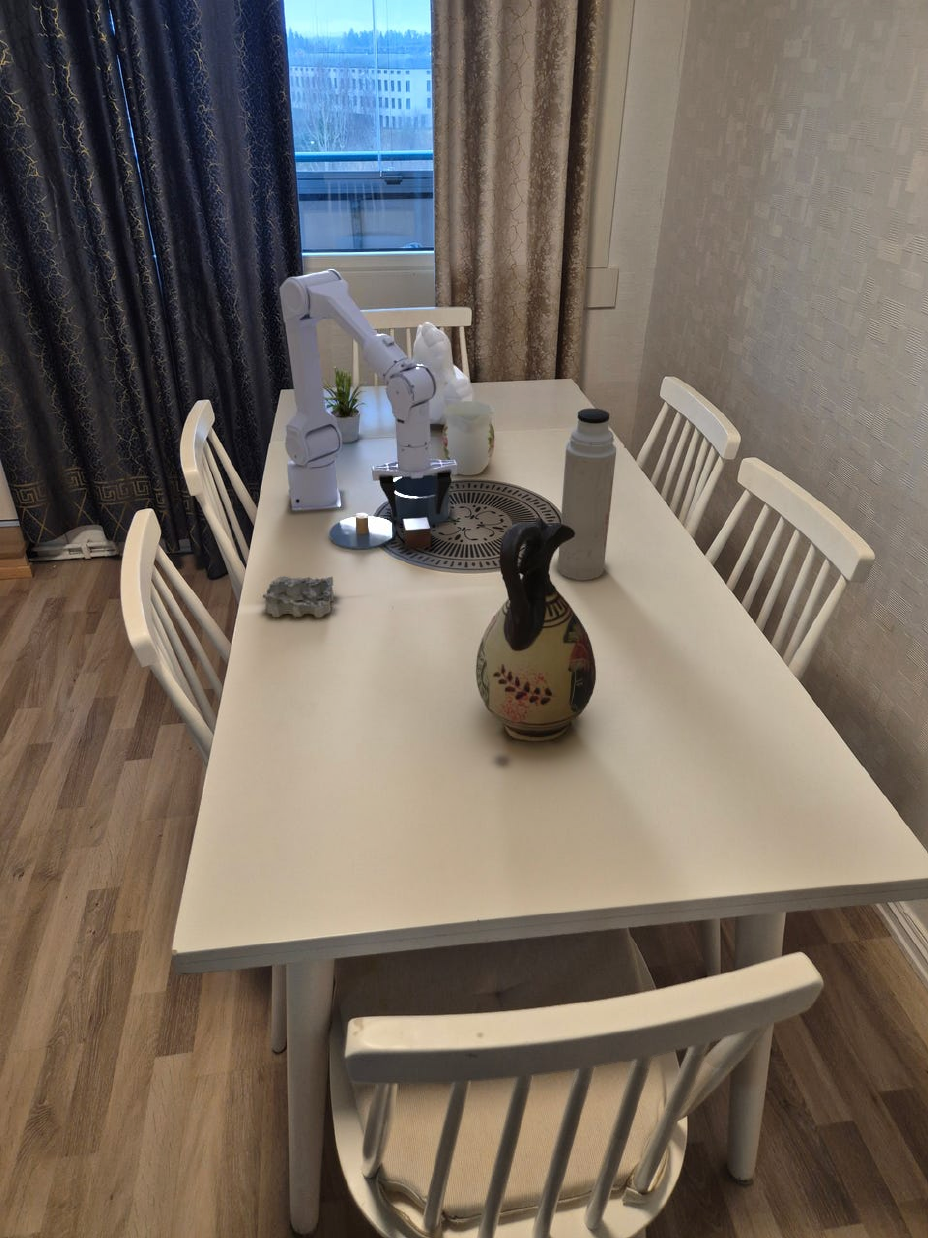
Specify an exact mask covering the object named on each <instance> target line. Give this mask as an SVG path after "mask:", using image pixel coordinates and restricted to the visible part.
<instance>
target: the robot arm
mask: <svg viewBox="0 0 928 1238" xmlns="http://www.w3.org/2000/svg"><path fill="white" fill-rule="evenodd" d="M279 295H280V302H281V303H280V304H281V311H282V318H283V323H284V326H285V332H286V333H285V334H286V339H287V348H288V355H289V362H290V369H291V377H292V385H293V393H294V402H295V407H296V408H295V409H296V412H295V413H294V414H293V416H292V417H291V418H290V419H289V420H288V422H287V423H286V425H285V429H286V437H285V443H284V444H285V451H286V453H287V456H288V457H289V459H290V461H287V463H286V467H287V468H286V469H287V478H288V480H287V481H288V487H289V488H288V497H289V499H290V504H291V510H292V511H302V510H303V511H305V510H316V509H319V510H320V509H331V508H332V509H333V508H340V507H342V501H341V492H340V490H339V489H338V482H337V481H338V480H337V470H336V459H337V458H338V452H339V451H340V450H341V449H342V447H343V442H342V436H341V433H340V431H339V428H338V425H337V418H336V417H335V416H334V415H332V414H331V413H330V411H327V409H326V403H325V402H326V400H324V397H325V392H324V388H323V387H324V386H323V385H324V383H323V382H324V381H323V380H322V378H323V375H322V366H321V357H320V349H319V348H320V347H319V339H318V333H317V332H318V330H317V326H318V324H319V323H320V322H321V321H322V320H323V319H331V320H333V321H334V322H335V323H336V324H337V325H338V326H339V327H340V328H341V329H342V330H343V331H344V332H345V333H347V335H348V336H349V337H350V338H352V339H353V340H354V342H356V344H358V346H360V347H361V348H362V351H361V352H362V353H361V355H362V360H363V361H364V362H365V363H366V365H367V366H368V367H369V368H370V369H371V370H372V372H373V373H374V374H375V375H376V376H377V377H378V378H379V379H380V380H381V382H382V383H383V385H385V386H386V387H385V394H386V397H387V399H388V401H389V404H390V407H391V413H392V414H393V417H394V419H395V436H396V440H395V441H396V459H397V461H392V462H388V463H384V464H378V465H372V466H371V477H372V481H374V482H375V481H379V485H380V488H381V490H382V492H383V494H384V496H385V497H386V499H387V501H388V504H389V507H390V506H391V509H392V514H393V518H397V509H396V502H395V484H394V479H395V478H397V477H411V478H422V477H423V476H424V475H434V478H435V511H436V514H440V512H441V506H442V503H443V499H444V497H445V494H446V492H447V490H448V488H449V487H451V485H452V480H453V479H452V476H457V475H458V473H457V464H456V461H455V460H447V459H433V458H432V451H431V450H432V449H431V448H432V447H431V424H430V410H429V400H430V399H432V398H433V397H434V396H435V393H436V381H435V378H434V376H433V374H432V372H431V371H430V369H429V368H428V367H427V366H425V365H419V364H417V363H416V362H412V359H410V358H409V357H408V355H407V354H406V353H405V352H404V351H403V350H402V349H401V348H400V346H399V345H398V344H397V343H396V342H395V341H396V340H395V339H394V338H393V337H392V336H390V335H389V334H386V333H380V334H379V333H378V332H377V331H376V329H375V327H373V326H372V324H371V323H370V321H369V320H368V319H367V317H365V315H364V314H363V312H362V311H361V310H360V308H359V307H358V306H357V304H356V303H355V302H354V299H352V298H351V291H350V285H349V283H348V282H347V281H346V279H344V278H343V276H342V274H341V273H340V272H339V271H337V270H336V269H334V268H329V269H325V270H323V271H318V272H313V273H309V274H303V275H299V276H290V277H287V278H286V279H285V280H284V282H282V284H281V285H280V287H279ZM393 518H392V519H393Z"/></svg>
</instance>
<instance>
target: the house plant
mask: <svg viewBox="0 0 928 1238" xmlns="http://www.w3.org/2000/svg"><path fill="white" fill-rule="evenodd" d="M333 369H334V373H335V381H334V382H335V386H336V391H335V390H334V389H333V388H332V387H331V386H330V384H329V383H328V382H327V380H325V379H324V378H323V377H322V381H323V382H324V383H325V384H326V385H324V384H323V390H326V391H327V392H328V393H329V394H330V395H331V396H329V397H326V396H324V400H325V404H327V405H325V409H326V410H328V409H331V408H332V409H331V410H330V411H329V413H331V414H332V415H334V416H335V417H336V418H337V425H338V428H339V431H340V433H341V436H342V443H346V444H347V443H353V442H356V441H357V440H359V430H360V419H361V411H360V410H359V408H357V407H359V406H360V405H365V406H367V404H366V402H362V403H358V404H357V402H359V399H358V398H357V397H358V396H359V395H361V394H362V393H365V392H367V393H368V391H367V390H360V391H358V390H359V388H360V387H361V386H362V385H363V384H366V383H367V381H365V382H363V379H365V378H366V376H365V377H363V379H361V380H360V382H359V384H358V385H357V386H356V388H355V389H354V390H353V392H352V394H351V390H352V389H351V387H352V375H351V372H350V371H348V370H347V369H345V367H343V368H341V370H340V371H339V369H338V367H337V366H336V365H333ZM344 370H345V371H344Z"/></svg>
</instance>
